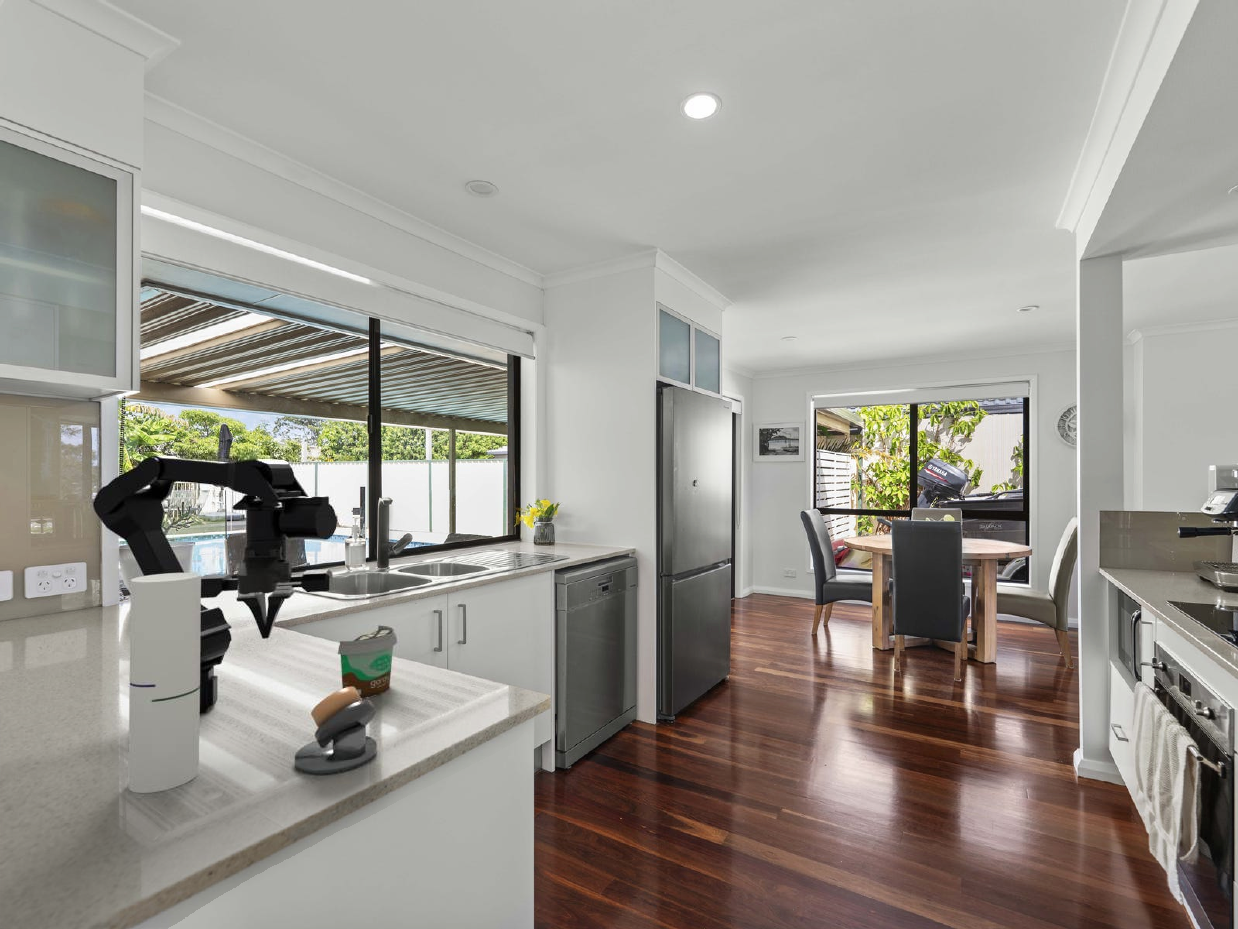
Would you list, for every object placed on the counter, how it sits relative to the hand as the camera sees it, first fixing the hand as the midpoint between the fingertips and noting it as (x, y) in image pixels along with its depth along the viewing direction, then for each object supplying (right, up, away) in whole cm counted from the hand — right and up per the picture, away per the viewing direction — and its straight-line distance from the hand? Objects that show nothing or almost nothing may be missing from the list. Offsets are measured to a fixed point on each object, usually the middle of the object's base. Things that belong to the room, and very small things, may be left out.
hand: (265, 638), depth 100 cm
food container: (+13, -12, +11) cm, 21 cm away
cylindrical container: (-1, -12, -21) cm, 24 cm away
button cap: (+18, -8, -15) cm, 25 cm away
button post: (+18, -12, -15) cm, 26 cm away
